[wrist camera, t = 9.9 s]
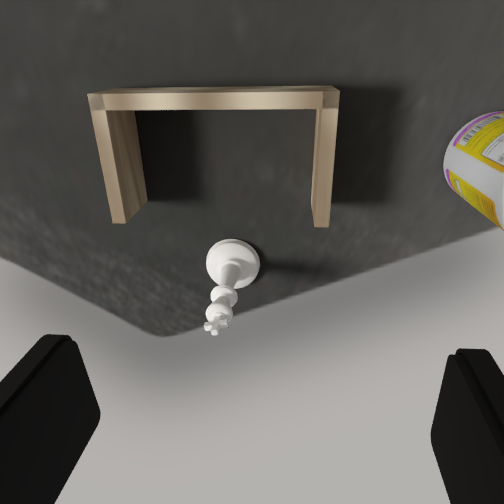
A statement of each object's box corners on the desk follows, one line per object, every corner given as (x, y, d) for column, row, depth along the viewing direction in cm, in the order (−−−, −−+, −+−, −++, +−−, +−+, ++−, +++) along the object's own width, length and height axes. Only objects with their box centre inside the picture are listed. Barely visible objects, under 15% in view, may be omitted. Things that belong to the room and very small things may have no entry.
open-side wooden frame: (331, 85, 28) (339, 91, 23) (323, 203, 32) (328, 227, 27) (118, 87, 29) (87, 93, 25) (136, 200, 33) (112, 223, 29)
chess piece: (265, 280, 36) (257, 354, 27) (215, 289, 37) (192, 364, 28) (252, 233, 34) (238, 297, 25) (199, 244, 35) (169, 309, 26)
